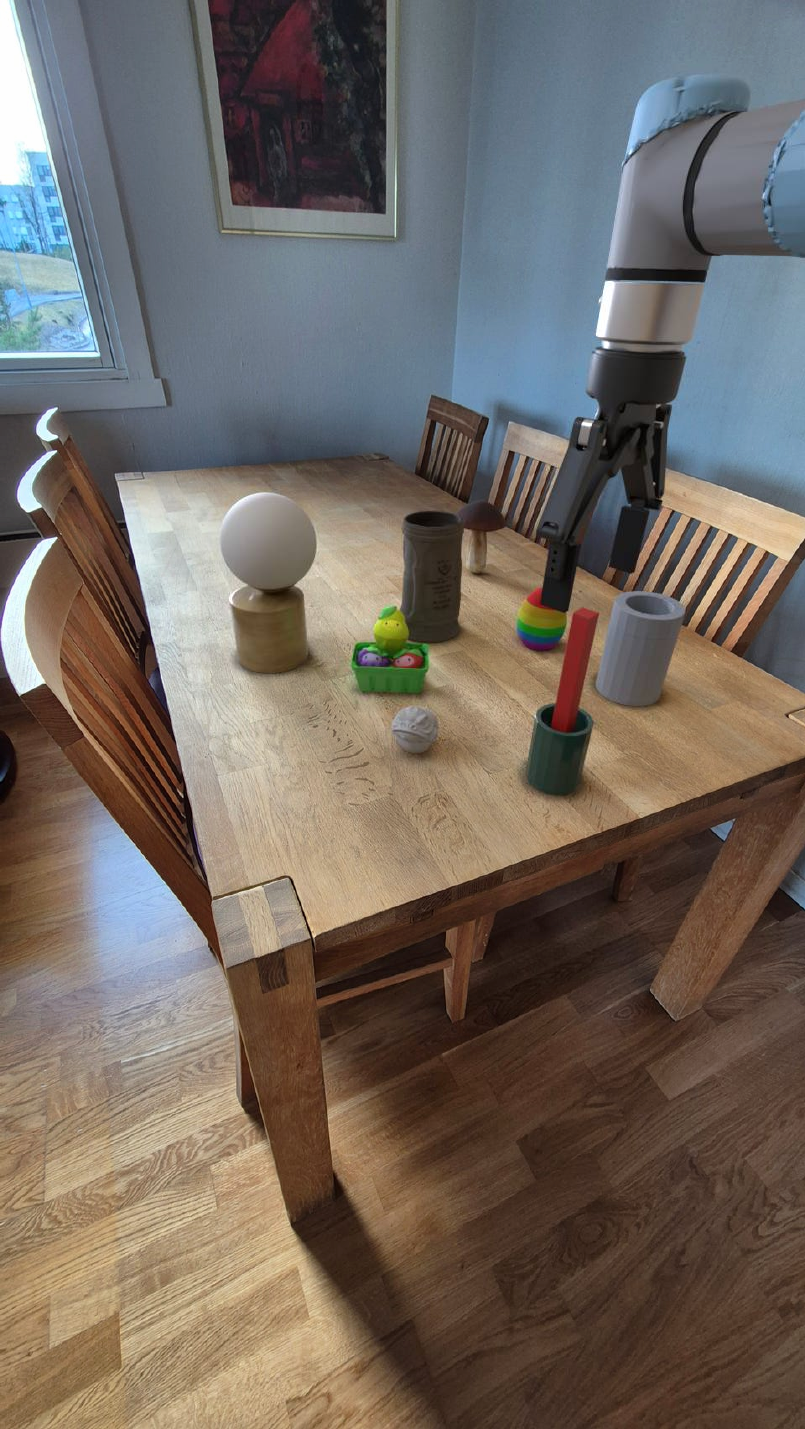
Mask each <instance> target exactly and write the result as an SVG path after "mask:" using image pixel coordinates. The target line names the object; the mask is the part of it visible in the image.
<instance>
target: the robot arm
mask: <svg viewBox="0 0 805 1429" xmlns="http://www.w3.org/2000/svg"><path fill="white" fill-rule="evenodd" d="M751 94H752V93H751V88H750V85H749V83H748V82H747V81H746V80H744V79H743V78H741V77H738V76H735V75H729V74H718V73H697V74H692V75H690V76H684V77H683V76H675V77H671V78H667V79H664V80H661V81H659V82H657V83H655V84H653V85H651V86H650V87H649V88H648V89H647V90H646V91H644V92H643V94H642V95H641V97H640V98H639V100H638V102H637V105H636V108H635V113H634V115H633V120H632V124H631V129H630V133H629V138H628V142H627V145H626V152H625V155H624V160H622V163H621V169H620V170H621V172H620V176H621V179H620V185H619V192H618V197H617V202H616V203H617V205H616V210H615V216H614V222H613V229H612V234H611V241H610V247H609V253H608V259H607V264H606V271H605V276H604V280H605V281H604V285H603V290H602V291H603V292H602V295H601V296H600V297H599V299H598V307H599V314H598V319H597V326H596V331H595V337H596V338H597V340H599V341H601V344H600V346H596V347H595V348H594V350H593V351H591V356H590V362H589V368H588V372H587V373H588V374H587V379H586V385H585V392H586V395H587V396H588V397H589V398H591V399H594V400H596V401H597V403H598V406H597V409H596V413H595V415H594V418H590V417H584V416H583V417H582V416H577V417H576V418H575V419H574V420H573V424H572V428H571V432H570V436H569V442H568V446H567V448H566V451H565V454H564V456H563V459H562V462H561V464H560V466H559V470H558V472H557V475H556V477H555V480H554V483H553V485H552V488H551V490H550V493H549V495H548V499H547V500H546V504H545V506H544V509H543V511H542V513H541V517H540V520H539V521H538V524H537V527H536V530H535V535H536V537H538V538H541V539H543V540H546V541H547V540H548V542H549V545H548V551H547V557H546V564H545V569H544V575H543V582H542V594H541V600H540V604H541V605H543V606H546V607H549V608H552V609H554V610H557V611H560V612H562V613H565V612H566V613H567V612H569V610H570V605H571V599H572V594H573V590H574V583H575V578H576V573H577V568H578V563H579V557H580V552H581V548H582V543H581V542H577V541H578V538H579V537H580V534H581V533H582V531H583V529H584V527H585V525H586V523H587V521H588V519H589V518H590V516H591V514H592V512H593V510H594V508H595V506H596V504H597V502H598V500H599V498H601V497H600V496H601V495H602V493H603V491H604V490H605V487H606V485H607V483H608V481H609V480H610V479H613V478H615V477H616V476H617V475H618V473H619V472H620V471H621V476H622V481H623V485H624V492H625V497H626V500H627V501H626V502H627V504H629V505H622V506H621V508H620V513H619V518H618V523H617V526H616V531H615V536H614V539H613V544H612V549H611V554H610V559H609V562H608V568H611V569H614V570H617V571H620V572H624V573H626V574H627V573H628V574H630V575H632V574H634V573H635V572H636V568H637V564H638V561H639V556H640V553H641V549H642V544H643V540H644V536H645V532H646V529H647V524H648V520H649V516H650V513H651V512H650V510H652V511H656V512H658V511H660V510H661V508H662V506H663V499H662V498H663V497H664V495H665V491H666V490H665V488H666V468H667V454H668V453H667V450H668V434H669V433H668V432H669V431H668V430H669V424H670V421H671V420H670V419H671V415H672V411H673V405H672V404H670V403H672V402H673V401H675V399H676V398H677V396H678V393H679V389H680V386H681V381H682V378H683V373H684V369H685V365H686V362H687V356H686V355H685V354H686V353H685V351H682V348H683V345H687V344H688V343H689V342H691V341H692V340H693V336H694V331H695V327H696V324H697V319H698V315H699V311H700V307H701V302H702V297H703V293H704V290H705V286H706V284H705V283H706V279H707V275H708V271H709V269H710V265H711V262H712V257H720V256H721V257H722V256H752V257H755V256H756V257H761V256H762V257H791V258H792V257H794V258H800V259H805V98H800V99H796V100H792V101H791V100H790V101H787V102H782V103H778V104H773V105H769V106H763V107H760V108H755V109H751V110H749V106H750V102H751Z"/></svg>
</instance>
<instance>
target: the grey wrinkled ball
mask: <svg viewBox="0 0 805 1429" xmlns="http://www.w3.org/2000/svg"><path fill="white" fill-rule="evenodd" d="M390 727H391V728H390V729H391V733H392V734H393V735H394V737H395V741H396V742H397V743H398V745H399V746H400V747H401V748H402V749H403V750H404V751H406V752H408V753H411V754H420V753H423V752H425V751H427V750H428V749H430V747H431V746H432V745H433V744H434V742H435V741H436V739H437V738H438V737H439V722H438V719H437V716H435V714H434V713H433V712H432V711H431V710H430V709H428V708H427V707H424V706H419V705H418V706H415V705H409V706H408V707H404V708H403V709H400V710H399V711H398V712H397V714H396V715H395V717H394V718H393V720H392V723H391V726H390Z"/></svg>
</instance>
